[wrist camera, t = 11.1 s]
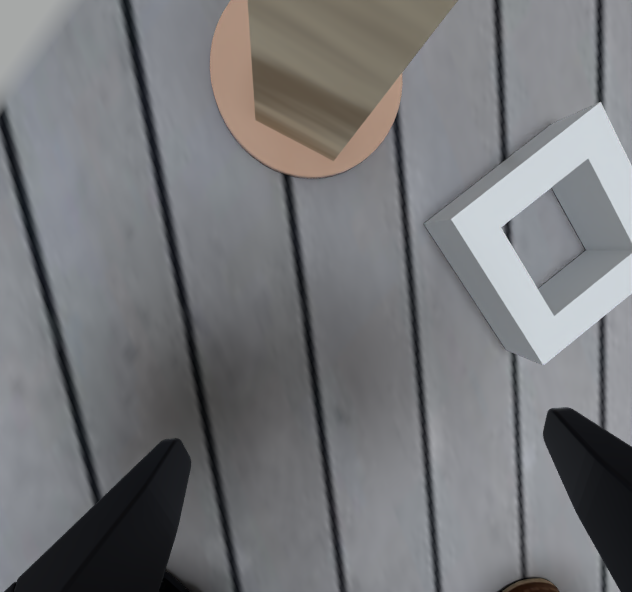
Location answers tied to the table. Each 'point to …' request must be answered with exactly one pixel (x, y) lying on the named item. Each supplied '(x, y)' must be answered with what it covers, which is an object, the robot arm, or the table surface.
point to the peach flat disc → (263, 142)
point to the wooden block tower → (332, 62)
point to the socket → (585, 216)
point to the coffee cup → (532, 586)
